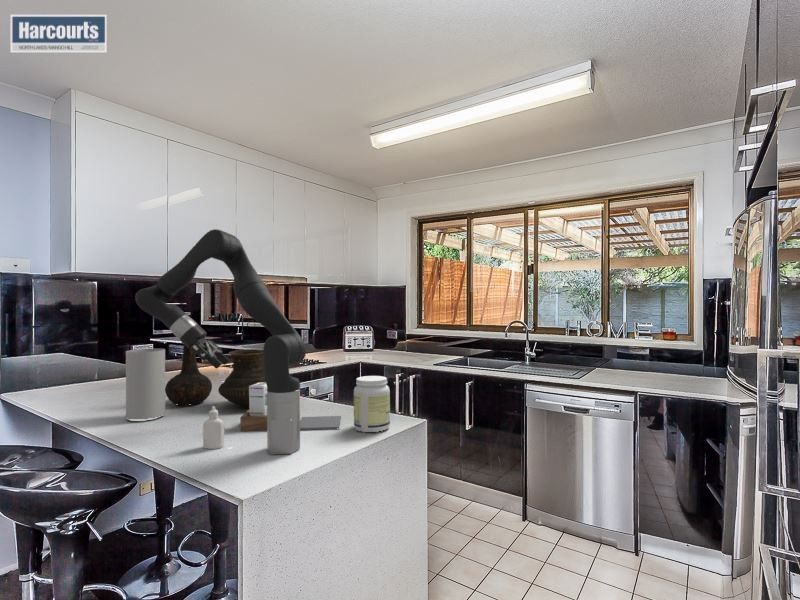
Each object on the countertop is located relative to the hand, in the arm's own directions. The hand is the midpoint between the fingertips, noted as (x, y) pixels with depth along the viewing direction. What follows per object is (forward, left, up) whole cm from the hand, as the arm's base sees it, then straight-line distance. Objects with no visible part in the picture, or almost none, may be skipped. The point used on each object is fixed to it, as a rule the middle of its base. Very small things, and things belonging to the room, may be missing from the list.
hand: (223, 364), depth 147 cm
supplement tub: (-7, -50, -22) cm, 55 cm away
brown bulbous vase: (+37, +26, -22) cm, 50 cm away
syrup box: (0, -12, -22) cm, 25 cm away
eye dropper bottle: (-21, -3, -22) cm, 30 cm away
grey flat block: (0, -32, -21) cm, 39 cm away
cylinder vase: (+15, +33, -22) cm, 42 cm away
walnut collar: (0, -12, -21) cm, 25 cm away
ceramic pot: (+30, -1, -22) cm, 37 cm away
